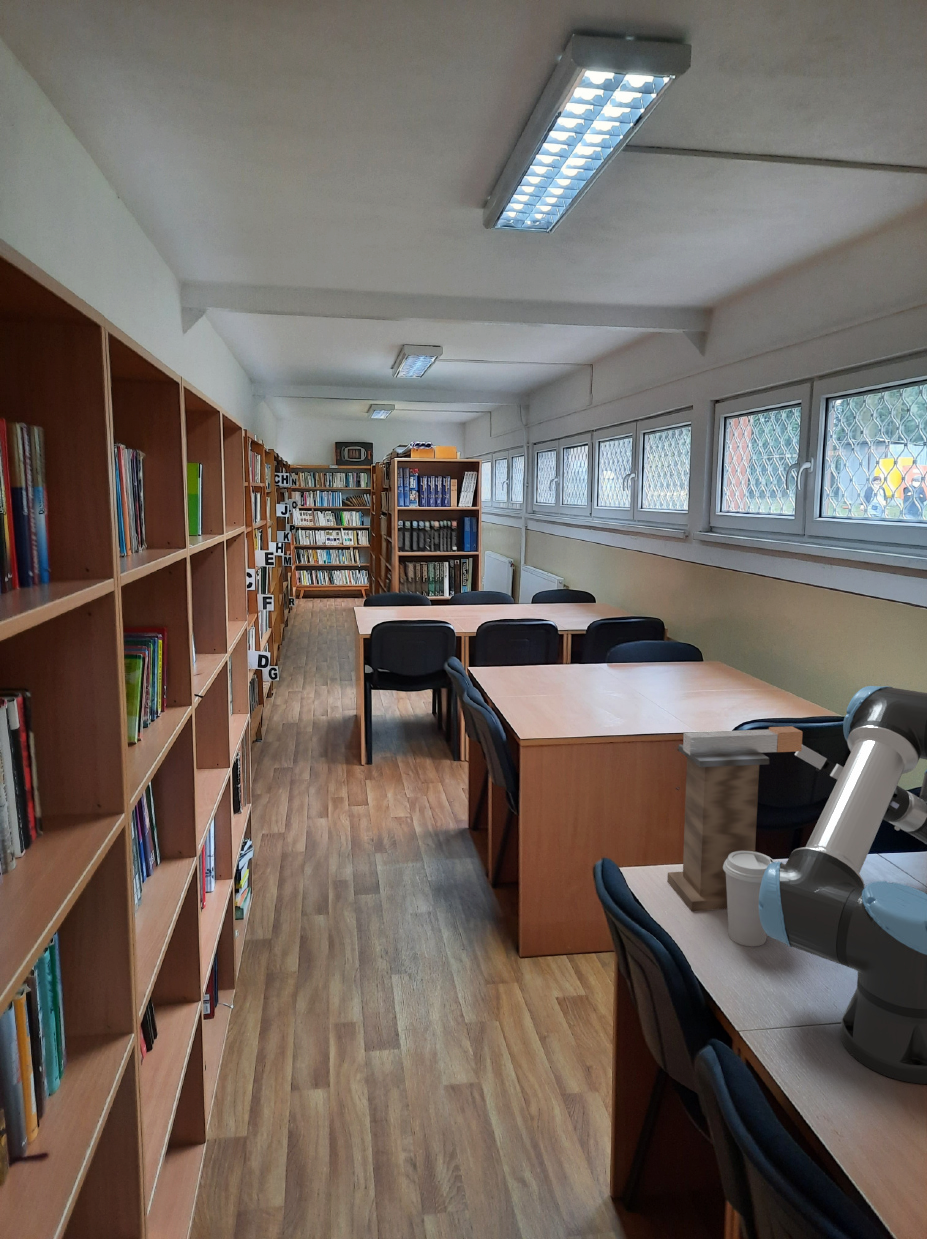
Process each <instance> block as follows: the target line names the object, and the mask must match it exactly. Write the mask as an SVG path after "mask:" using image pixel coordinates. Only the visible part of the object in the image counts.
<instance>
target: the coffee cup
mask: <svg viewBox="0 0 927 1239" xmlns="http://www.w3.org/2000/svg"><path fill="white" fill-rule="evenodd" d="M772 862H775V861H774V859H773V858H771V857H770V856H768V855H766V854H764V853H761V852H758V851H755V852H753V851H736V852H732V853H731V854H729V856H728V858H727V859H726V860H725V862H724V865H723V870H724V871H725V872H726V888H727V908H728V909H727V926H728V937H729V938H730V939H731V941H733V942H734V943H736V944H739V945H742V946H744V947H745V946H746V947H760V946H762V945H764V944H766V941H767V937H768V935H767V934H766V933H765V931H764V930H763V928H762V925H761V922H760V917H759V892H760V886H761V882H762V878H763V875H764V872H765V870H766V868H767V866H768V865H769V864H771V863H772Z"/></svg>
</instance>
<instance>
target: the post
mask: <svg viewBox="0 0 927 1239" xmlns="http://www.w3.org/2000/svg"><path fill="white" fill-rule="evenodd" d="M677 750H678V752H680V753H681V754H683V755H684V756H685V757H686V774H685V775H686V778H685V779H686V780H685V803H684V804H685V805H684V808H685V809H684V828H683V829H684V830H683V831H684V832H683V834H684V836H683V857H682V858H683V861H682V862H683V864H682V871H672V872H669V871H667V883H668V884H669V886H671V888H672V889H673V890H674V892H675V893H676V894H677V895H678V897H679V898H680V899H681V900H682V901H683V903H684V904H685V906H687V907H688V909H689V910H690V911H691V912H701V911H715V910H717V911H718V910H728V908H727V888H726V872H725V871H724V870H723V865H724V862H725V860H726V859H727V858H728V856H729V854H731V853H732V852H736V851H753V852H756V838H757V837H756V836H757V819H758V818H757V817H758V815H757V814H758V796H759V780H760V779H759V777H760V776H759V775H760V765H770V757H768V756H766V755H765V754H764V753H738V754H713V755H689V754H688V753H686V752H685V751H684V750H683V744H678V749H677Z"/></svg>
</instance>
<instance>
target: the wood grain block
mask: <svg viewBox="0 0 927 1239" xmlns="http://www.w3.org/2000/svg"><path fill="white" fill-rule="evenodd" d="M803 733H804V732H803V731H802V730H800V729H798V728H796V727H795V726H793V725H792V726H791V725H790V726H769V727H768V728H767V729H748V730H747V729H745V730H744V729H743V730H719V731H718V730H717V731H713V730H712V731H695V732H694V731H689V732H683V742H682V743H683V744H682V745H683V750H684V751H685V752H686V753H688V754H689V755H713V754H738V753H762V754H764V753H791V752H795V753H796V751H802V745H803Z"/></svg>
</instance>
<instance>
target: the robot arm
mask: <svg viewBox="0 0 927 1239" xmlns="http://www.w3.org/2000/svg"><path fill="white" fill-rule="evenodd" d="M845 711H846V715H845V716H844V719H843V724H842V725H843V726H842V727H843V730H842V731H843V735H844V739H845V741H846V743H847V747H848V749H849V751H850V754H849V756H848V757H847V760H846V761H845V765H844V766H842V765H841V764H838V763H836V764H835V763H834V762H832V761H830V760H828V758H827V757H825V756H823V755H821V754H819V752H816V751H814V750H813V749H811V748H809V747H807V746H806V745H804V744H802V751H795V753H794V756H795V757H797V758H799V759H801V760H803V761H804V762H806V763H808V764H810V765H811V766H813V767H815V768H816V769H815V771H817V772H820V770H822V771H823V772H825V773H827V774H829V776H830V777H831V778H833V779H836V783H835V785H834V787H833V789H832V791H831V793H830V795H829V798H828V799H827V801H826V803H825V806H824V808H823V810H822V811H821V814H820V815H819V818H818V820H817V823H816V824H815V827H814V828H813V831H812V833H811V835H810V837H809V839H808V841H807V843H806V845H805V846H804V847H798V848H795V849H793V851H791V853H790V855H789V858H788V859H787V861H786V862H785V863H783V862H782V861H774V862H772V863H771V864H769V865H768V866H767V868H766V870H765V872H764V875H763V878H762V882H761V886H760V892H759V917H760V922H761V925H762V928H763V930H764V931H765V933H766V934H767V937H768V936H769V937H770V938H772V939H774V940H776V941H779V942H781V943H783V944H785V945H787V946H788V947H789V948H796V949H797V950H801V951H803V952H806V953H809V954H812V955H815V956H817V957H819V958H822V959H825V960H827V961H831V962H833V963H836V964H839V965H842V966H845V967H847V968H850V969H853V970H855V971H856V972H857V982H856V989H855V991H854V992H853V995H852V996H851V998H850V1001H849V1003H848V1005H847V1007H846V1009H845V1011H844V1013H843V1015H842V1018H841V1022H840V1040H841V1042H842V1045H843V1046H844V1048H845V1049H846V1050H847V1052H848V1053H849V1054H850V1055H851V1056H852V1057H853V1058H854V1059H855V1060H857V1061H858V1062H859V1063H861V1065H862V1064H863V1065H864V1066H865V1067H866V1068H869V1069H871V1070H872V1071H874V1072H876V1073H879V1074H880V1075H883V1076H886V1077H889V1078H890V1079H894V1080H897V1081H900V1082H906V1083H912V1084H919V1085H920V1084H922V1085H923V1084H924V1085H927V893H926V892H924V891H922V890H919V889H917V888H916V887H915V888H914V887H912V886H909V885H907V884H905V883H904V884H903V883H899V882H893V881H892V882H888V881H886V880H880V881H879V880H878V881H873V882H870V883H867V885H865V882H864V879H863V877H862V876H861V874H860V873H861V870H862V869H863V866H864V864H865V861H866V859H867V856H868V854H869V852H870V849H871V847H872V845H873V842H874V841H875V838H876V837H877V836H876V835H877V833H878V831H879V828H880V826H881V823H882V821H885V822H888V823H890V824H892V825H893V826H894V830H896V831H900V830H902V831H904V832H905V833H907V834H908V835H911V836H913V837H915V839H918V840H919V841H921V842H922V843H923V844H925V845H927V768H926V770H925V771H924V774H923V775H924V777H923V780H922V781H923V782H922V785H921V789H920V792H919V797H918V796H917V795H915V794H914V793H911V792H910V791H908V790H906V789H904V788H902V787H901V786H900V785H898V784H899V782H900V779H901V777H902V775H903V774H908V773H909V772H911V771H913V770H914V769H915V768H916V767H917V765H918V762H919V760H920V759H921V760H927V692H923V691H918V690H917V691H915V690H910V689H903V688H896V687H893V686H887V685H884V686H878V685H877V686H876V685H867V686H864V687H862V688H861V689H859V690H858V691H857V692H856V693H855V694H854V695H853V696H852V698H851V699H850V702H849V703H848V706H847V708H846V710H845Z"/></svg>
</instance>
